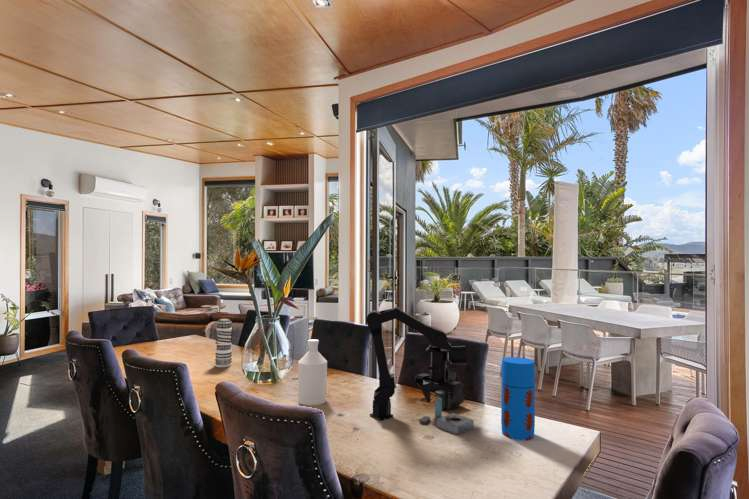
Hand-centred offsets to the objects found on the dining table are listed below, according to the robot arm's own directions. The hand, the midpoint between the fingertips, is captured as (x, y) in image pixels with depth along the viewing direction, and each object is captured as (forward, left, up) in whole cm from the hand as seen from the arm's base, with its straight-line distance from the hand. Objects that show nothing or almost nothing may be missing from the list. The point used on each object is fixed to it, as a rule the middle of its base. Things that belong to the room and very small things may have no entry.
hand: (438, 405), depth 169 cm
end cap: (+13, +5, -5) cm, 15 cm away
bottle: (-24, +47, -5) cm, 53 cm away
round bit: (0, 0, -4) cm, 5 cm away
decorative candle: (-25, +129, -5) cm, 131 cm away
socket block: (-3, -11, -4) cm, 12 cm away
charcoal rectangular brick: (-7, 0, -5) cm, 8 cm away
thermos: (+8, -28, -5) cm, 30 cm away
